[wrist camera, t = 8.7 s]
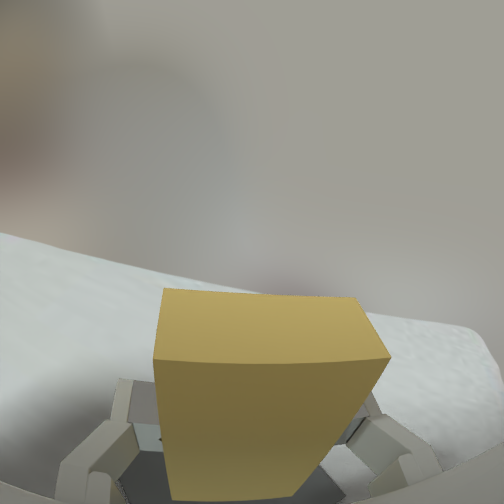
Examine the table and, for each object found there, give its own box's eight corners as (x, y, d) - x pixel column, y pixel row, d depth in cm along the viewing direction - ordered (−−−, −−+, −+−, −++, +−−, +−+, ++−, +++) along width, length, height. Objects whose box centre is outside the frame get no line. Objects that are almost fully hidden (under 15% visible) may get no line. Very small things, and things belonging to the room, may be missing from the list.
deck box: (291, 496, 11) (391, 357, 7) (171, 500, 10) (152, 358, 6) (282, 453, 13) (355, 297, 9) (171, 455, 12) (163, 287, 8)
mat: (175, 582, 11) (175, 582, 11) (103, 435, 21) (102, 433, 21) (344, 497, 20) (346, 495, 19) (252, 389, 29) (253, 387, 29)
